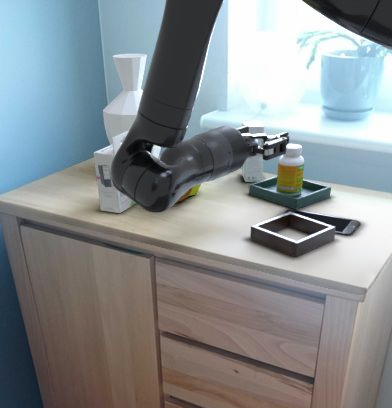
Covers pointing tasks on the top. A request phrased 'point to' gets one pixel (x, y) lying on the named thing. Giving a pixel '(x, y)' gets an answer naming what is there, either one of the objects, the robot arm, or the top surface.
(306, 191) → the tray
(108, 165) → the ink box
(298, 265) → the top surface
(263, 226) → the frame
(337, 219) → the smartphone
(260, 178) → the cosmetic box
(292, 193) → the supplement bottle
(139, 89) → the vase
